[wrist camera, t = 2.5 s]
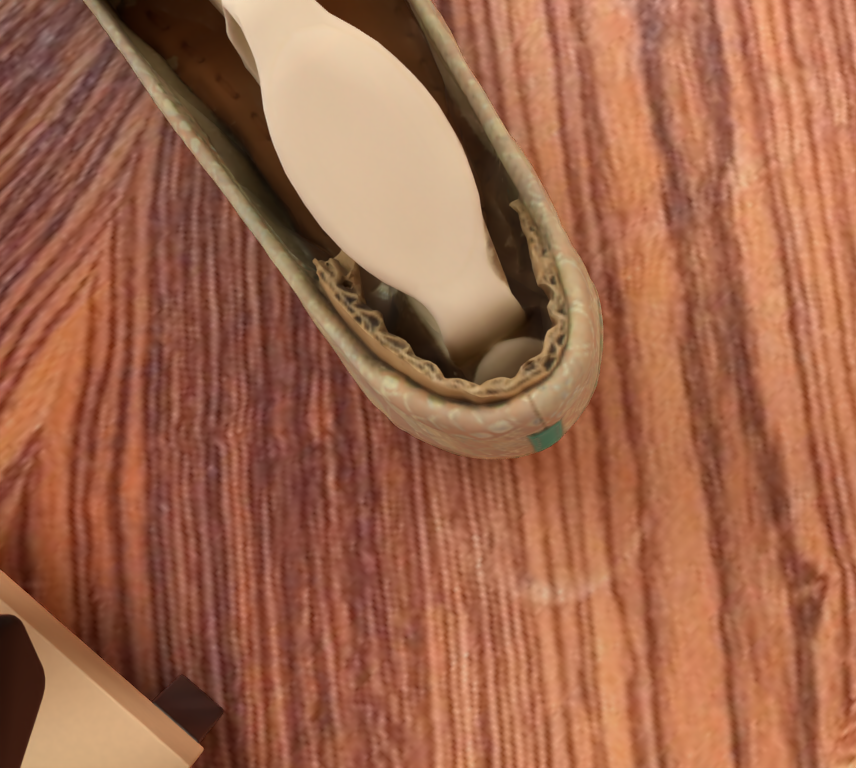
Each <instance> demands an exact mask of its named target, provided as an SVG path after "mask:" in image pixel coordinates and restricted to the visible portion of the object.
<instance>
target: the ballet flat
mask: <svg viewBox="0 0 856 768" xmlns="http://www.w3.org/2000/svg"><path fill="white" fill-rule="evenodd" d="M82 1H83V2H84V3H85V4H86V5H87V6H88V8H89V9H90V10H91V12H92V13H93V14H94V15H95V17H96V18H97V20H98V21H99V23H100V24H101V26H102V27H103V29H104V30H105V31H106V32H107V34H108V35H109V37H110V38H111V40H112V42H113V43H114V44H115V46H116V47H117V48H118V50H119V51H120V52H121V53H122V55H123V56H124V57H125V59H126V60H127V62H128V63H129V65H130V66H131V68H132V69H133V71H134V72H135V74H136V75H137V77H138V78H139V80H140V81H141V83H142V84H143V86H144V87H145V89H146V90H147V91H148V93H149V94H150V95H151V97H152V99H153V101H154V102H155V104H156V105H157V106H158V108H159V109H160V111H161V112H162V113H163V115H164V116H165V118H166V119H167V120H168V122H169V123H170V124H171V126H172V127H173V129H174V130H175V131H176V133H177V134H178V136H179V137H180V138H181V139H182V140H183V141H184V143H185V144H186V146H187V147H188V148H189V150H190V151H191V152H192V153H193V155H194V156H195V157H196V158H197V160H198V161H199V163H200V164H201V165H202V167H203V168H204V170H205V171H206V172H207V173H208V174H209V175H210V177H211V178H212V179H213V180H214V181H215V183H216V184H217V186H218V187H219V188H220V190H221V191H222V192H223V194H224V195H225V196H226V198H227V199H228V200H229V202H230V203H231V204H232V206H233V207H234V209H235V210H236V212H237V213H238V215H239V216H240V217H241V219H242V220H243V221H244V223H245V224H246V226H247V227H248V228H249V229H250V231H251V232H252V233H253V235H254V236H255V237H256V239H257V240H258V241H259V243H260V244H261V245H262V247H263V248H264V250H265V251H266V253H267V254H268V256H269V257H270V259H271V260H272V261H273V263H274V264H275V265H276V267H277V268H278V269H279V271H280V272H281V274H282V275H283V277H284V278H285V280H286V281H287V282H288V284H289V285H290V286H291V288H292V289H293V290H294V292H295V293H296V294H297V296H298V298H299V299H300V301H301V303H302V305H303V306H304V308H305V310H306V311H307V313H308V314H309V316H310V317H311V319H312V320H313V322H314V323H315V325H316V326H317V328H318V329H319V330H320V332H321V333H322V334H323V336H324V337H325V338H326V340H327V341H328V342H329V344H330V345H331V346H332V348H333V349H334V350H335V352H336V353H337V355H338V357H339V358H340V360H341V361H342V363H343V364H344V366H345V368H346V369H347V371H348V372H349V373H350V375H351V376H352V377H353V379H354V380H355V381H356V383H357V384H358V386H359V387H360V388H361V390H362V391H363V392H364V394H365V395H366V396H367V397H368V399H369V400H370V401H371V402H372V403H373V404H374V405H375V406H376V407H377V408H378V409H379V410H380V411H382V412H383V413H384V414H385V415H386V416H387V417H388V418H389V420H390V421H391V422H392V423H393V424H394V425H396V426H397V427H398V428H400V429H401V430H403V431H406V432H408V433H409V434H411V435H412V436H413V437H415V438H417V439H419V440H422V441H424V442H426V443H428V444H430V445H433V446H435V447H437V448H440V449H442V450H445V451H447V452H450V453H453V454H455V455H459V456H464V457H470V458H478V459H508V458H519V457H523V456H527V455H530V454H533V453H536V452H539V451H542V450H544V449H546V448H548V447H550V446H552V445H553V444H554V443H556V442H557V441H559V440H560V439H561V438H562V437H563V435H564V434H565V433H566V432H567V431H568V430H569V429H570V428H571V427H572V425H573V424H574V423H575V422H576V421H577V420H578V418H579V417H580V415H581V414H582V413H583V411H584V410H585V408H586V407H587V405H588V404H589V402H590V399H591V397H592V395H593V393H594V391H595V388H596V386H597V382H598V378H599V374H600V365H601V360H602V353H603V319H602V311H601V305H600V300H599V295H598V292H597V290H596V288H595V285H594V283H593V282H592V280H591V279H590V277H589V274H588V272H587V269H586V267H585V265H584V263H583V261H582V259H581V257H580V256H579V254H578V253H577V252H576V250H575V249H574V247H573V246H572V244H571V242H570V240H569V238H568V236H567V234H566V232H565V230H564V229H563V227H562V226H561V223H560V220H559V217H558V215H557V212H556V210H555V208H554V206H553V203H552V201H551V199H550V197H549V196H548V194H547V192H546V190H545V188H544V186H543V185H542V183H541V181H540V179H539V177H538V176H537V174H536V172H535V170H534V168H533V167H532V165H531V164H530V162H529V161H528V159H527V158H526V156H525V155H524V153H523V152H522V150H521V149H520V147H519V146H518V144H517V143H516V142H515V141H514V139H513V138H512V137H511V135H510V134H509V133H508V131H507V130H506V128H505V126H504V124H503V123H502V121H501V119H500V117H499V116H498V114H497V112H496V111H495V109H494V107H493V105H492V104H491V102H490V100H489V99H488V97H487V95H486V93H485V92H484V90H483V88H482V87H481V85H480V84H479V82H478V81H477V79H476V77H475V76H474V74H473V73H472V71H471V70H470V68H469V67H468V65H467V63H466V62H465V60H464V58H463V56H462V54H461V51H460V49H459V47H458V45H457V43H456V41H455V39H454V37H453V35H452V33H451V31H450V29H449V27H448V26H447V24H446V22H445V20H444V19H443V17H442V15H441V14H440V12H439V11H438V10H437V8H436V7H435V5H434V4H433V3H432V1H431V0H82Z"/></svg>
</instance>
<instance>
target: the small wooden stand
mask: <svg viewBox="0 0 856 768" xmlns="http://www.w3.org/2000/svg"><path fill="white" fill-rule="evenodd" d="M0 614H11V615H15V616H16V617H18V618H19V619H20V620H21V621H22V623H23V624H24V626H25V628H26V631H27V633H28V635H29V637H30V639H31V642H32V644H33V646H34V648H35V650H36V653H37V655H38V657H39V659H40V661H41V664H42V666H43V669H44V673H45V691H44V695H43V699H42V702H41V705H40V708H39V711H38V714H37V718H36V721H35V724H34V727H33V730H32V733H31V736H30V739H29V743H28V746H27V749H26V752H25V755H24V758H23V761H22V765H21V768H191V766H192V765H193V764H194V762H195V761H196V760H197V759H198V757H199V756H200V755H201V753H202V752H203V750H204V748H203V747H202V746H201V745H200V744H199V743H200V742H201V741H202V739H203V738H204V737H205V736H206V734H207V733H208V732H209V731H210V729H211V728H212V727H213V726H214V724H215V723H216V722H217V721H218V719H219V718H220V717H221V716H222V714H223V712H224V711H223V709H222V708H221V707H220V706H218V705H217V704H216V703H215V702H214V701H213V700H212V699H210V698H209V697H208V696H207V695H206V694H205V693H204V692H202V691H201V690H200V689H199V688H198V687H197V686H196V685H194V684H193V683H192V682H191V681H190V680H189V679H187V678H186V677H185V676H184V675H182V674H181V675H179V676H178V677H177V678H176V679H175V680H174V681H173V682H172V683H171V684H170V685H169V686H168V687H167V688H166V689H164V690H163V691H162V692H161V693H160V694H159V695H158V696H157V697H156V698H155V699H154V700H153V701H152V702H151V701H150V700H148V699H147V698H146V697H145V696H144V695H143V694H142V693H140V692H139V691H138V690H137V689H136V688H135V687H134V686H133V685H131V684H130V683H129V682H128V681H127V680H126V679H125V678H123V677H122V676H121V675H120V674H119V673H118V672H117V671H115V670H114V669H113V668H112V667H111V666H110V665H109V664H107V663H106V662H105V661H104V660H103V659H102V658H101V657H100V656H98V655H97V654H96V653H95V652H94V651H93V650H92V649H90V648H89V647H88V646H87V645H86V644H85V643H84V642H82V641H81V640H80V639H79V638H78V637H77V636H76V635H74V634H73V633H72V632H71V631H70V630H69V629H68V628H66V627H65V626H64V625H63V624H62V623H61V622H60V621H59V620H57V619H56V618H55V617H54V616H53V615H52V614H51V613H49V612H48V611H47V610H46V609H45V608H44V607H43V606H41V605H40V604H39V603H38V602H37V601H36V600H35V599H33V598H32V597H31V596H30V595H29V594H28V593H27V592H26V591H24V590H23V589H22V588H21V587H20V586H19V585H18V584H16V583H15V582H14V581H13V580H12V579H11V578H10V577H8V576H7V575H6V574H5V573H4V572H3V571H2V570H0Z"/></svg>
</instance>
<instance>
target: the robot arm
mask: <svg viewBox="0 0 856 768" xmlns="http://www.w3.org/2000/svg"><path fill="white" fill-rule="evenodd" d="M44 691H45V673H44V669H43V666H42V664H41V661H40V659H39V657H38V655H37V653H36V650H35V648H34V646H33V644H32V642H31V639H30V637H29V635H28V633H27V631H26V628H25V626H24V624H23V623H22V621H21V620H20V619H19V618H18V617H16V616H15V615H11V614H0V768H21V765H22V761H23V758H24V755H25V752H26V749H27V746H28V743H29V739H30V736H31V733H32V730H33V727H34V724H35V721H36V718H37V714H38V711H39V708H40V705H41V702H42V699H43V695H44Z"/></svg>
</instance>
